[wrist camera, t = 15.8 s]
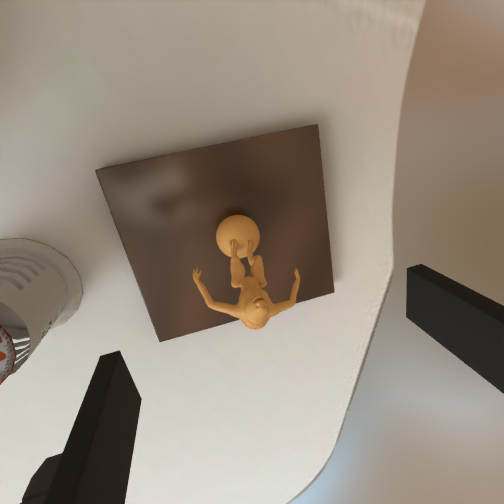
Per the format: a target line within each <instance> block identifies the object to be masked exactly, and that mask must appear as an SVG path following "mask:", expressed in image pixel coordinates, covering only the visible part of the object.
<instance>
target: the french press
mask: <svg viewBox="0 0 504 504" xmlns="http://www.w3.org/2000/svg"><path fill="white" fill-rule="evenodd" d="M82 294H83V291H82V286H81V281H80V275H79V274H78V272H77V271H76V269H75V268H74V267H73V265H72V264H71V262H70V261H69V260H68V258H66V257H65V256H63V255H62V254H60V253H59V252H58V251H56V250H55V249H53V248H52V247H50V246H49V245H45V244H42V243H38V242H35V241H31V240H28V239H3V240H0V384H1V383H2V382H3V381H4V380H5V379H6V378H7V377H8V376H9V375H11V374H13V373H15V372H16V371H17V370H18V369H19V368H20V367H21V365H22V364H23V363H24V362H25V361H26V360H27V359H28V358H29V356H30V355H31V354H32V352H33V351H34V350H35V348H36V347H37V346H38V344H39V343H40V342H41V340H42V338H43V337H44V336H45V335H46V334H47V332H48V330H49V329H52V328H54V327H56V326H58V325H60V324H63V323H65V322H66V321H67V320H68V319H69V318H70V317H71V316H72V315H73V314H74V313H75V312H76V311H77V310H78V307H79V304H80V301H81V297H82ZM44 333H45V334H44ZM42 334H43V335H42ZM29 337H30V340H28V341H23V342H19V343H13V341H12V339H16V340H19V339H24V338H29ZM29 343H30V345H28V346H27V347H26V348H23V349H19V350H15V348H14V347H19V346H24V345H27V344H29ZM29 347H30V349H28V348H29ZM26 349H28V350H27V351H26V352H24V353H23V354H22V355H20V356H19V357H18V358H16V355H17V354H20V353H21V352H23V351H25V350H26ZM28 352H29V353H28ZM27 353H28V355H26V354H27ZM24 355H26V356H25V357H24V358H22V357H23V356H24ZM20 358H22V359H21V360H20V361H18V362H17V363H16V364H14V363H15V361H17V360H18V359H20Z"/></svg>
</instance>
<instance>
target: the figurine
mask: <svg viewBox="0 0 504 504" xmlns="http://www.w3.org/2000/svg"><path fill="white" fill-rule="evenodd" d="M216 240H217V244H218V246H219V248H220V250H221V251H222V252H223V253H224V254H226V255H227V256H229V257H231V261H230V263H231V266H230V270H231V275H232V279H231V285H232V287H234V288H237V287H241V293H240V296H239V301H238V303H237V304H236V305H232V304H227V303H221V302H214V301H213V300H212V298H211V296H210V295H209V293H208V291H207V289H206V287H205V286H204V284H203V283H202V282H201V281H200V280H199V277H200V275H201V271H200V272H199V274H198V268H196V272H195V269H194V272H193V279H194V281H195V283H196V284H197V286H198V289H199V290H200V292H201V294H202V295H203V297H204V299H205V302H206V304H207V306H208V307H209V308H211V309H214V310H217V311H220V312H224V313H228V314H230V315H232V316H234V317H237V318H239V319H240V320H241V321H242V322H243V324H244V325H245V326H246V327H248V328H250V329H254V330H256V329H260V328H262V327H263V326H265V325H266V323H267V321H268V320H269V318H270V317H273V316H275V315H277V314H278V313H279V312H281V311H284V310H286V309H288V308H291V307H292V306H294V305H295V303H296V295H297V291H298V288H299V282H300V276H299V272H298V270H297V269H296V268H295V270H296V272H295V271H294V273H295V276H296V281H295V282H294V284H293V287H292V292H291V295H290V300H286V301H283V302H279V303H276V304H273V303H272V302H271V300H270V298H269V296H268V294H267V293H266V292H265V291H264V290H263V289H261V288H260V287H265V286H266V285H267V282H266V279H265V277H264V266H263V262H262V257H261V256H259V255H256V256H254V257H253V252H254V251H255V250H256V248H257V246H258V244H259V240H260V233H259V229H258V227H257V225H256V224H255V222H254V221H253V220H252V219H250V218H249V217H247V216H244V215H232V216H229V217H227V218H226V219H224V220H223V221H222V222H221V223H220V225H219V227H218V229H217V233H216ZM244 257H248V262H249V264H250V266H251V275H252V277H250V276H247V277H245V267H244V265H243V264H242V263H241V261H240V258H244Z"/></svg>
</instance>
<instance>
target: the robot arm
mask: <svg viewBox="0 0 504 504" xmlns="http://www.w3.org/2000/svg"><path fill="white" fill-rule="evenodd" d="M406 302H407V304H406V317H407V318H408V319H409V320H411V321H412V322H413V323H415V324H416V325H417V326H418V327H420V328H421V329H422V330H424V331H425V332H426V333H427V334H429V335H430V336H431V337H432V338H434V339H435V340H436V341H437V342H439V343H440V344H441V345H443V346H444V347H445V348H446V349H448V350H449V351H450V352H452V353H453V354H454V355H456V356H457V357H458V358H459V359H460V360H462V361H463V362H464V363H465V364H467V365H468V366H469V367H471V368H472V369H473V370H474V371H476V372H477V373H478V374H479V375H481V376H482V377H483V378H485V379H486V380H487V381H488V382H490V383H491V384H492V385H493V386H495V387H496V388H497V389H499V390H500V391H501V392H502V393H504V306H503V305H501V304H499V303H497V302H495V301H493V300H491V299H489V298H487V297H485V296H483V295H481V294H479V293H477V292H475V291H473V290H471V289H470V288H468V287H466V286H464V285H462V284H460V283H458V282H456V281H454V280H452V279H450V278H448V277H446V276H444V275H442V274H440V273H438V272H436V271H434V270H432V269H431V268H429V267H427V266H425V265H422V264H420V265H416V266H413V267H409V268H407V301H406ZM141 400H142V399H141V397H140V395H139V392H138V390H137V388H136V386H135V383H134V381H133V379H132V377H131V375H130V372H129V370H128V368H127V366H126V364H125V361H124V359H123V357H122V355H121V352H120V351H116V352H113V353H109V354H106V355H102V356H100V358H99V361H98V363H97V366H96V368H95V371H94V374H93V376H92V379H91V381H90V384H89V386H88V389H87V392H86V394H85V397H84V399H83V402H82V404H81V407H80V410H79V412H78V415H77V417H76V420H75V423H74V425H73V428H72V430H71V433H70V435H69V438H68V441H67V443H66V446H65V448H64V451H63V453H61V454H58V455H55V456H52V457H49V458H46V460H45V461H44V462H43V464H42V465H41V466H40V468H39V469H38V470H37V471H36V473H35V474H34V475H33V477H32V478H31V480H30V482H29V485H28V487H27V489H26V491H25V493H24V496H23V498H22V503H20V504H125V498H126V492H127V486H128V479H129V473H130V467H131V461H132V455H133V449H134V443H135V437H136V430H137V424H138V418H139V412H140V406H141Z"/></svg>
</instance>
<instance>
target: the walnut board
mask: <svg viewBox="0 0 504 504" xmlns="http://www.w3.org/2000/svg"><path fill="white" fill-rule="evenodd" d="M95 171H96V174H97V177H98V179H99V182H100V185H101V187H102V190H103V193H104V195H105V198H106V201H107V203H108V206H109V209H110V211H111V214H112V217H113V219H114V222H115V225H116V227H117V230H118V233H119V235H120V238H121V241H122V243H123V246H124V249H125V251H126V254H127V257H128V259H129V262H130V265H131V267H132V270H133V273H134V275H135V278H136V281H137V283H138V286H139V289H140V291H141V294H142V297H143V299H144V302H145V305H146V307H147V310H148V313H149V315H150V318H151V321H152V323H153V326H154V329H155V331H156V334H157V337H158V339H159V342H163V341H166V340H170V339H173V338H177V337H180V336H184V335H187V334H191V333H194V332H198V331H201V330H204V329H208V328H211V327H215V326H218V325H222V324H225V323H229V322H232V321H236V320H239V318H237V317H234V316H232V315H230V314H228V313H224V312H220V311H217V310H214V309H211V308H209V307H208V306H207V304H206V302H205V299H204V297H203V295H202V294H201V292H200V290H199V289H198V286H197V284H196V283H195V281H194V279H193V272H194V269H195V272H196V268H198V274H199V272H200V271H201V275H200V277H199V280H200V281H201V282H202V283H203V284H204V286H205V287H206V289H207V291H208V293H209V295H210V296H211V298H212V300H213V301H214V302H221V303H227V304H232V305H236V304H237V303H238V301H239V296H240V293H241V287H237V288H234V287H232V285H231V279H232V275H231V270H230V266H231V263H230V261H231V257H229V256H227V255H226V254H224V253H223V252H222V251H221V250H220V248H219V246H218V244H217V240H216V233H217V229H218V227H219V225H220V223H221V222H222V221H223V220H224V219H226V218H227V217H229V216H232V215H244V216H247V217H249V218H250V219H252V220H253V221H254V222H255V224H256V225H257V227H258V229H259V233H260V240H259V244H258V246H257V248H256V250H255V251H254V252H253V257H254V256H256V255H259V256H261V257H262V262H263V266H264V277H265V279H266V282H267V285H266V286H265V287H260V288H261V289H263V290H264V291H265V292H266V293H267V294H268V296H269V298H270V300H271V302H272V303H273V304H276V303H279V302H283V301H286V300H290V295H291V292H292V287H293V284H294V282H295V281H296V276H295V273H294V271H295V272H296V270H295V268H296V269H297V270H298V272H299V276H300V282H299V288H298V291H297V295H296V303H299V302H302V301H306V300H309V299H313V298H316V297H320V296H323V295H327V294H330V293H334V283H333V272H332V262H331V252H330V242H329V231H328V221H327V211H326V201H325V191H324V180H323V170H322V160H321V150H320V139H319V129H318V124H315V125H309V126H304V127H300V128H295V129H290V130H285V131H280V132H275V133H271V134H266V135H261V136H256V137H251V138H246V139H241V140H237V141H232V142H227V143H222V144H217V145H212V146H207V147H203V148H198V149H193V150H188V151H183V152H178V153H174V154H169V155H164V156H159V157H154V158H149V159H144V160H140V161H135V162H130V163H125V164H120V165H115V166H111V167H106V168H101V169H97V170H95ZM240 261H241V263H242V264H243V265H244V267H245V277H247V276H250V277H252V275H251V266H250V264H249V262H248V257H244V258H240Z"/></svg>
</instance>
